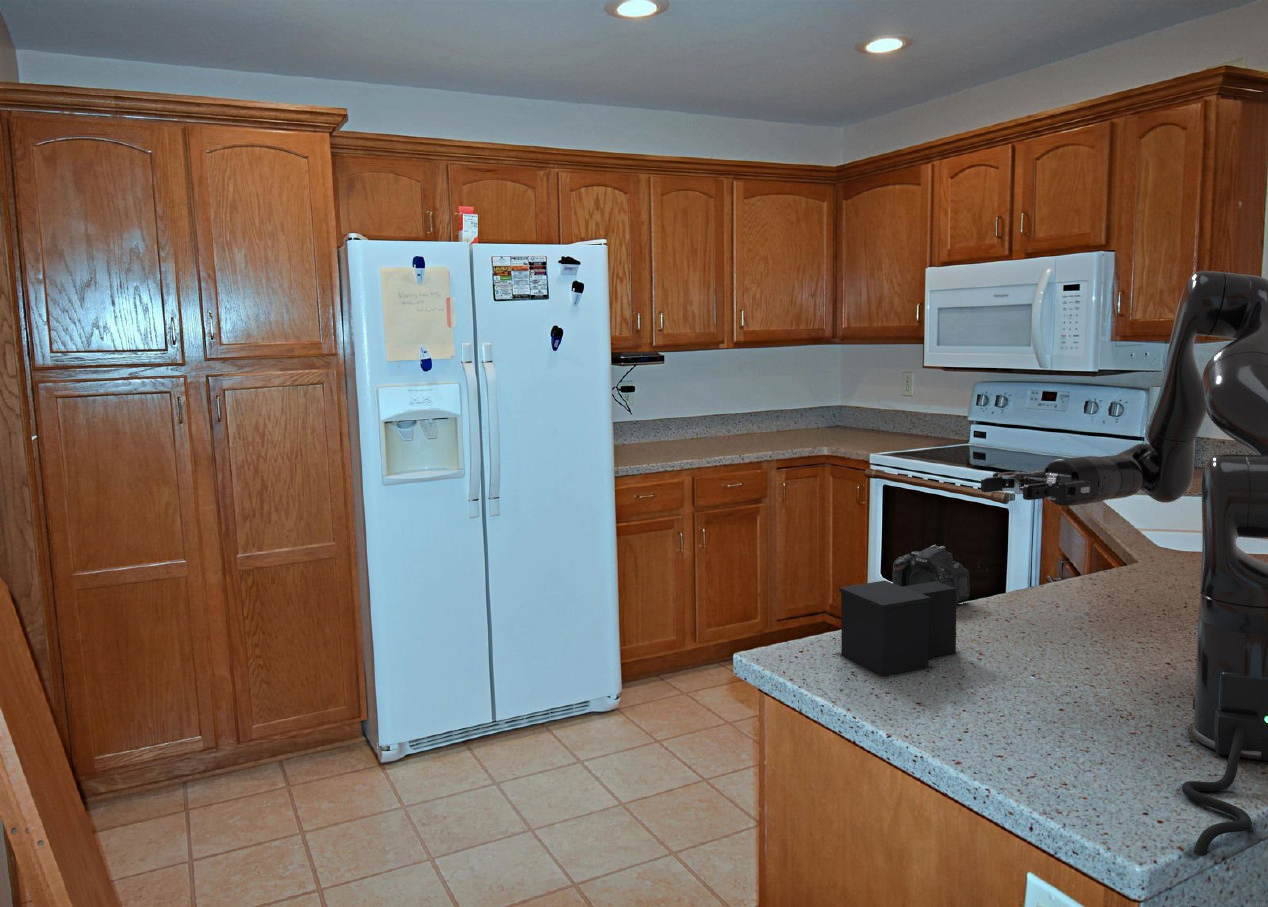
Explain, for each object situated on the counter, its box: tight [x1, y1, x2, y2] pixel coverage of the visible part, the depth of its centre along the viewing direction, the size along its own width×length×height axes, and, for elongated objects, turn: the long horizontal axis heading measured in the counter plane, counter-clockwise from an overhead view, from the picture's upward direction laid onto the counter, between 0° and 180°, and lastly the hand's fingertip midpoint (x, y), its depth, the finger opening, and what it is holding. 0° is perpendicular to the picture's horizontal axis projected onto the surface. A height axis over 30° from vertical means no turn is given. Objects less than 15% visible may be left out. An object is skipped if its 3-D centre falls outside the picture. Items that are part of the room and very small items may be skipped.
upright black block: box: [903, 581, 957, 659], centre depth 133 cm, size 4×7×10 cm, turn 112°
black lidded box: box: [838, 580, 931, 677], centre depth 130 cm, size 10×8×10 cm
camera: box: [892, 544, 970, 605], centre depth 160 cm, size 13×10×10 cm
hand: (1003, 489), depth 135 cm, fingers open, 8 cm apart
